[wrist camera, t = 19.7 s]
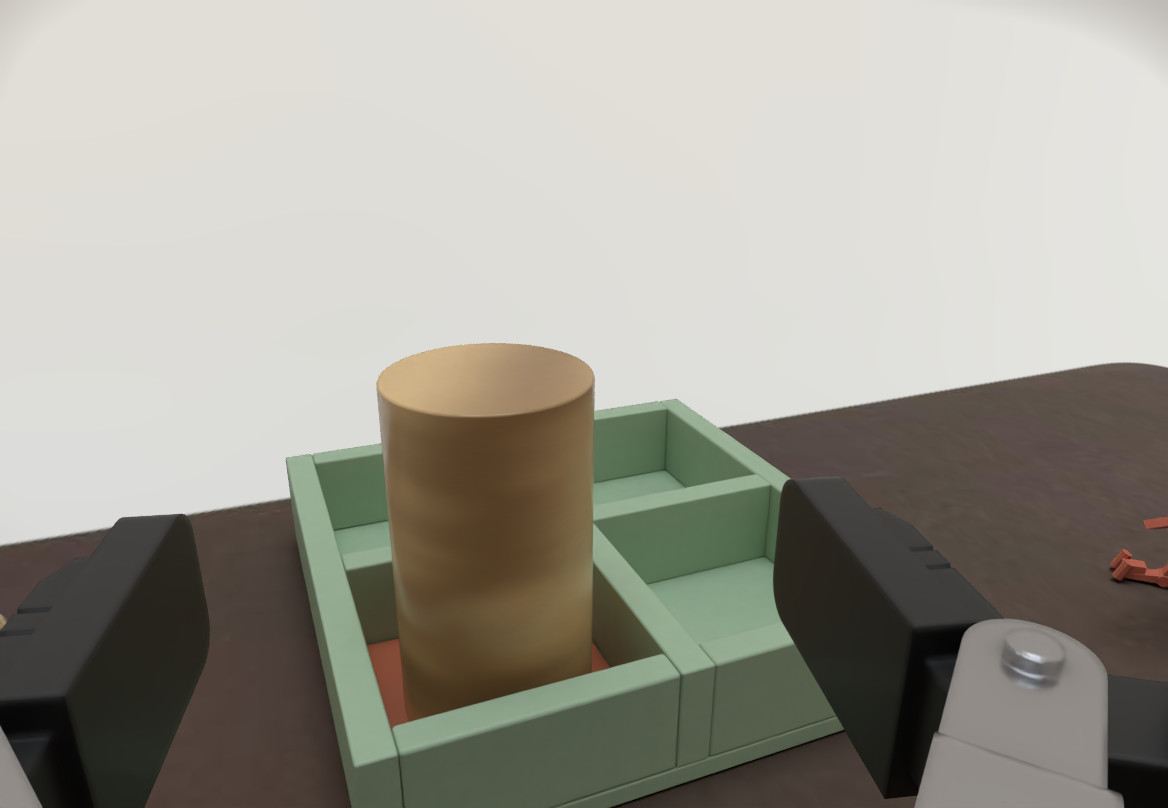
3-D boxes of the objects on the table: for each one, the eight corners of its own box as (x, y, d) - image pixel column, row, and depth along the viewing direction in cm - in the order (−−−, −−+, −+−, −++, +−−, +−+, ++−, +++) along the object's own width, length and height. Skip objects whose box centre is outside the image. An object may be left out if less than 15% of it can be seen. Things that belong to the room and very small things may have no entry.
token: (379, 753, 19) (343, 410, 16) (432, 630, 23) (411, 339, 20) (581, 769, 18) (583, 420, 15) (599, 641, 22) (602, 345, 19)
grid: (367, 889, 16) (353, 766, 15) (296, 539, 28) (285, 457, 27) (940, 699, 21) (960, 596, 20) (673, 470, 33) (676, 397, 32)
